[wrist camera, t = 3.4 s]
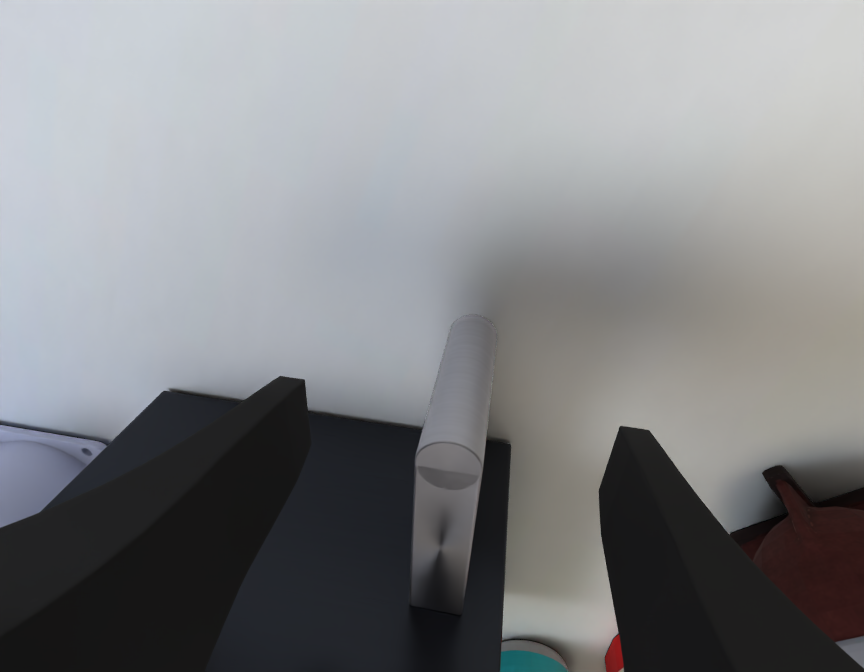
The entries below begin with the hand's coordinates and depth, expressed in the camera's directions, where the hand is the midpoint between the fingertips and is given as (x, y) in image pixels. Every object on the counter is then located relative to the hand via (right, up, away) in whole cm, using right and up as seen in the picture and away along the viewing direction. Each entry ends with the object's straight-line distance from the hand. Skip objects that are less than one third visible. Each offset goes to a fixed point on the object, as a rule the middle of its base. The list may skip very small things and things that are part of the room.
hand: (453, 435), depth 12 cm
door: (-5, +1, +9) cm, 10 cm away
